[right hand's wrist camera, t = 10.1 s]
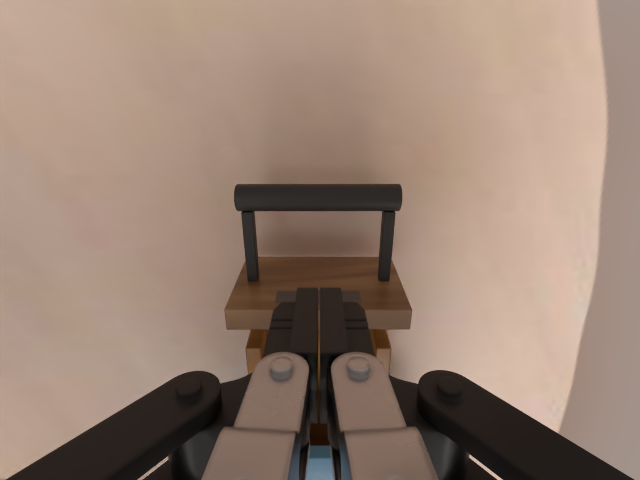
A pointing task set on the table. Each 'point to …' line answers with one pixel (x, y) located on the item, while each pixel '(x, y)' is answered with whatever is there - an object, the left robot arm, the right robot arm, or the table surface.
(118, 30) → the table surface
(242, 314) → the drawer
